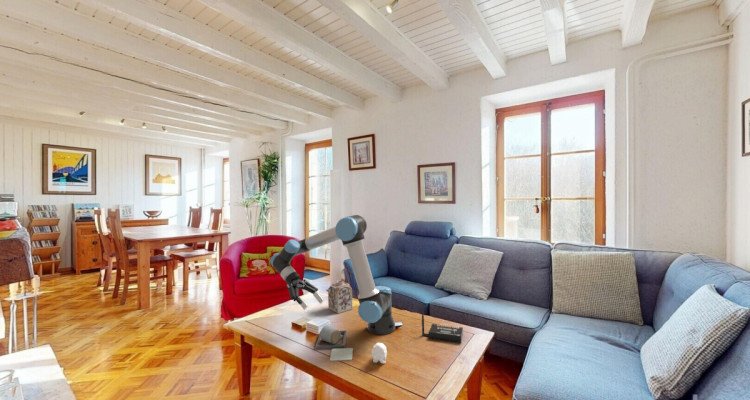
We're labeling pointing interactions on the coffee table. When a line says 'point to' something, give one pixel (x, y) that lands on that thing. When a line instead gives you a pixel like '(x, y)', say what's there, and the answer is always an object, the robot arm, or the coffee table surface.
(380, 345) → the white figurine
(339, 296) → the decorative jar
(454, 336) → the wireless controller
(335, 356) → the grey-green mat
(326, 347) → the square frame
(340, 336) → the ceramic mug
